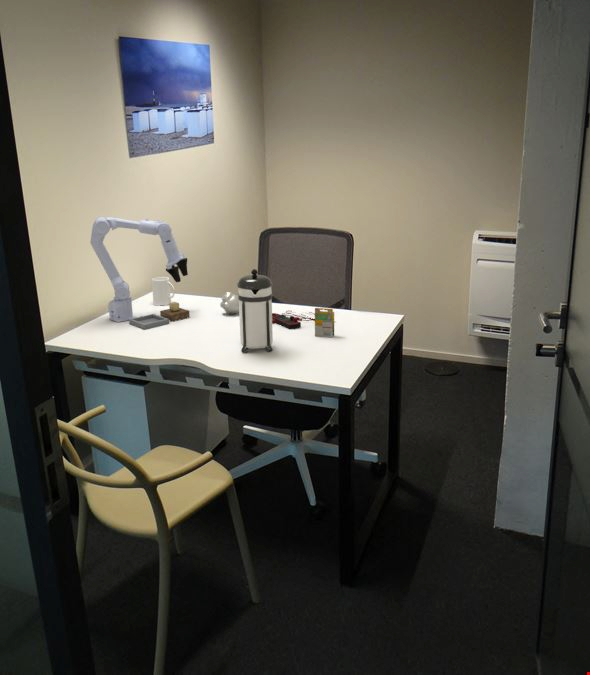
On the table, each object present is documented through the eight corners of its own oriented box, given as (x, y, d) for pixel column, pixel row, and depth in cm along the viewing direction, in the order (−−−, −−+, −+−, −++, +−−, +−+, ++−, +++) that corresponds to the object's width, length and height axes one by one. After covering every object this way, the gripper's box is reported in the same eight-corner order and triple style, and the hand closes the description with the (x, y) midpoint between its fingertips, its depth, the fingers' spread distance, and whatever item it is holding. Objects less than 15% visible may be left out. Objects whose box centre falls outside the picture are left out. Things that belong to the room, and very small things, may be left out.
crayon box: (334, 335, 267) (334, 307, 263) (332, 337, 264) (332, 309, 260) (316, 334, 268) (316, 305, 265) (314, 336, 266) (314, 307, 262)
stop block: (172, 321, 288) (171, 314, 287) (160, 317, 294) (160, 311, 293) (189, 317, 294) (189, 310, 293) (177, 313, 300) (177, 307, 299)
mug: (180, 303, 317) (178, 278, 313) (168, 307, 310) (166, 282, 306) (161, 300, 323) (159, 275, 319) (149, 304, 316) (147, 279, 312)
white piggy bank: (222, 311, 303) (221, 289, 300) (243, 311, 303) (242, 289, 300) (219, 316, 295) (218, 294, 291) (241, 316, 294) (240, 294, 291)
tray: (144, 329, 277) (144, 324, 276) (129, 323, 285) (128, 319, 285) (169, 323, 285) (169, 319, 284) (153, 318, 293) (153, 313, 293)
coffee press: (287, 347, 253) (285, 268, 244) (254, 357, 243) (252, 275, 234) (256, 337, 265) (254, 262, 256) (224, 346, 254) (220, 268, 245)
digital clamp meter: (291, 323, 270) (259, 309, 290) (291, 333, 271) (259, 319, 291) (338, 313, 282) (304, 301, 302) (338, 324, 283) (304, 310, 303)
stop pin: (174, 319, 292) (173, 304, 290) (170, 317, 294) (169, 303, 292) (179, 317, 294) (179, 303, 292) (176, 316, 296) (175, 301, 294)
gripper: (172, 253, 283) (183, 283, 287) (185, 242, 295) (196, 271, 300) (157, 256, 285) (169, 285, 290) (172, 245, 298) (182, 274, 302)
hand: (182, 278), depth 295 cm, fingers open, 7 cm apart
